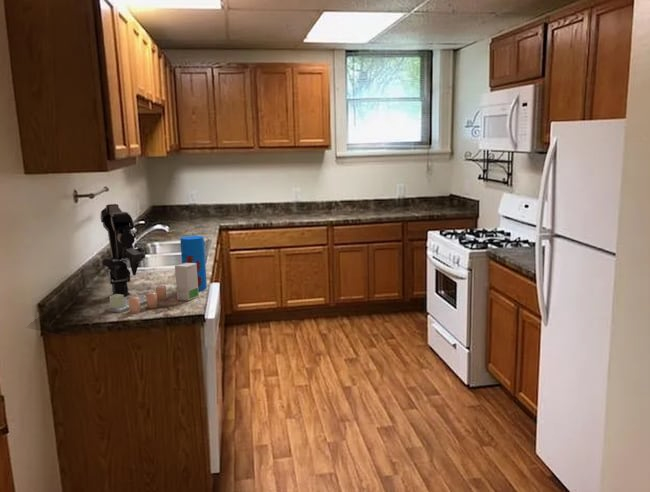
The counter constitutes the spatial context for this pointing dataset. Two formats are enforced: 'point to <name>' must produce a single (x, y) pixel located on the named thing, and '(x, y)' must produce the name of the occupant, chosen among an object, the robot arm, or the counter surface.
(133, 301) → the peach colored egg
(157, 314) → the counter surface
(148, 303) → the salmon pink egg
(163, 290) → the glossy pink ovoid
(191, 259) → the thermos
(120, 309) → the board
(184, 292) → the skincare box
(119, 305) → the pale green block
